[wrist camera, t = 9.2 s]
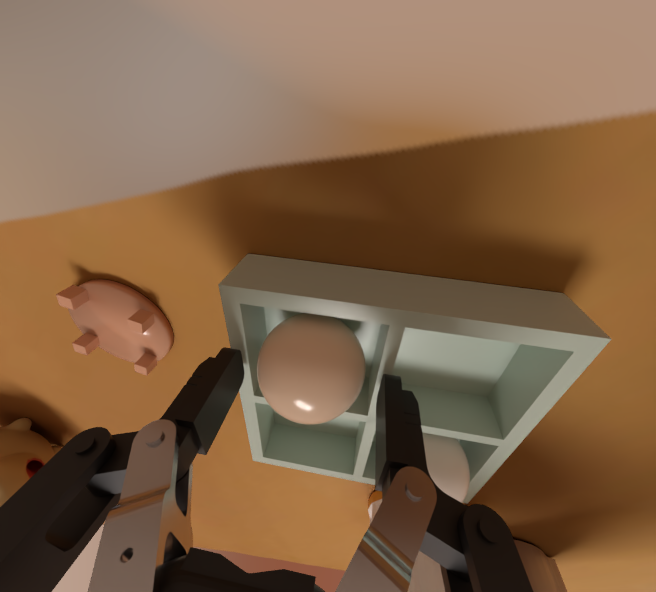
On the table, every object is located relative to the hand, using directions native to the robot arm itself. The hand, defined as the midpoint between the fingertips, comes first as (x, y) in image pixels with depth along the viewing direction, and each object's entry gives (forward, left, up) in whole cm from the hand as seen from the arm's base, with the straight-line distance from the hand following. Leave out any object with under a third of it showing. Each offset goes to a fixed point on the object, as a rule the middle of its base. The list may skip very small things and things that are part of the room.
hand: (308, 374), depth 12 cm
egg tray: (-4, +2, -3) cm, 6 cm away
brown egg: (0, 0, -3) cm, 3 cm away
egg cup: (+12, +5, -3) cm, 13 cm away
